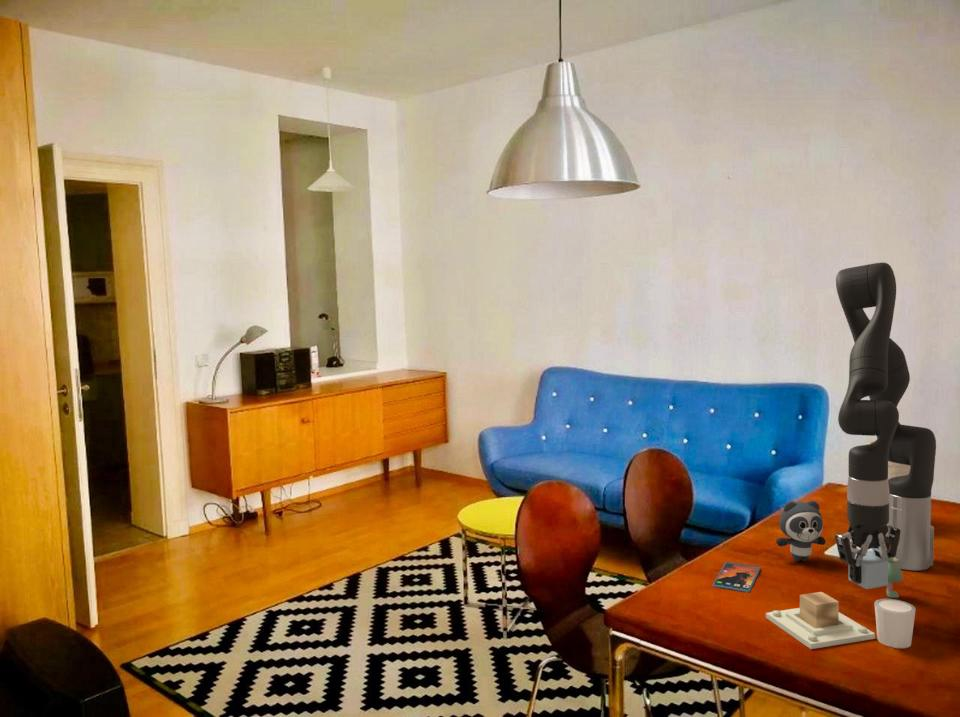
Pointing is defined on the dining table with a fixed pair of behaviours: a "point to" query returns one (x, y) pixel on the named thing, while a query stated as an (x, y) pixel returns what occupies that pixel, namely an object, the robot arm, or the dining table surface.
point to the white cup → (894, 622)
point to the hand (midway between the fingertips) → (867, 579)
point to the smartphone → (737, 577)
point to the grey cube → (873, 572)
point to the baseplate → (819, 629)
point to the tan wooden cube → (819, 610)
